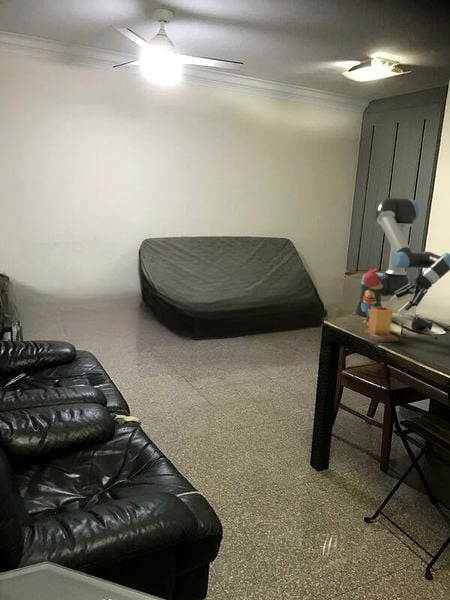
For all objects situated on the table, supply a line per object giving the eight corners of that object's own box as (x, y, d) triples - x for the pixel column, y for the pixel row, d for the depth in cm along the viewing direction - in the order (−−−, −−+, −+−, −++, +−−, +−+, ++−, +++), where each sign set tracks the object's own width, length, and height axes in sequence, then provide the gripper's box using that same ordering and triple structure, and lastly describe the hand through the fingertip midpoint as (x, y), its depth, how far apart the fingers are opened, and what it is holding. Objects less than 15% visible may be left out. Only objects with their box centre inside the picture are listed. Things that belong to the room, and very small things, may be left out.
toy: (383, 329, 246) (389, 270, 239) (363, 328, 246) (369, 270, 239) (374, 321, 261) (380, 265, 254) (355, 320, 260) (361, 265, 253)
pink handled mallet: (409, 326, 253) (426, 330, 252) (417, 341, 236) (434, 345, 236) (414, 313, 250) (431, 317, 250) (422, 327, 234) (440, 331, 233)
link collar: (368, 330, 239) (371, 306, 236) (382, 330, 240) (385, 306, 237) (374, 334, 231) (377, 310, 229) (389, 334, 232) (392, 310, 230)
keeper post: (362, 331, 241) (364, 311, 239) (383, 331, 243) (385, 312, 240) (376, 341, 226) (379, 321, 223) (398, 341, 227) (401, 321, 225)
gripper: (445, 291, 221) (410, 322, 223) (418, 279, 245) (386, 308, 246) (436, 279, 219) (400, 311, 221) (409, 269, 243) (377, 297, 245)
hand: (393, 309), depth 234 cm, fingers open, 13 cm apart
